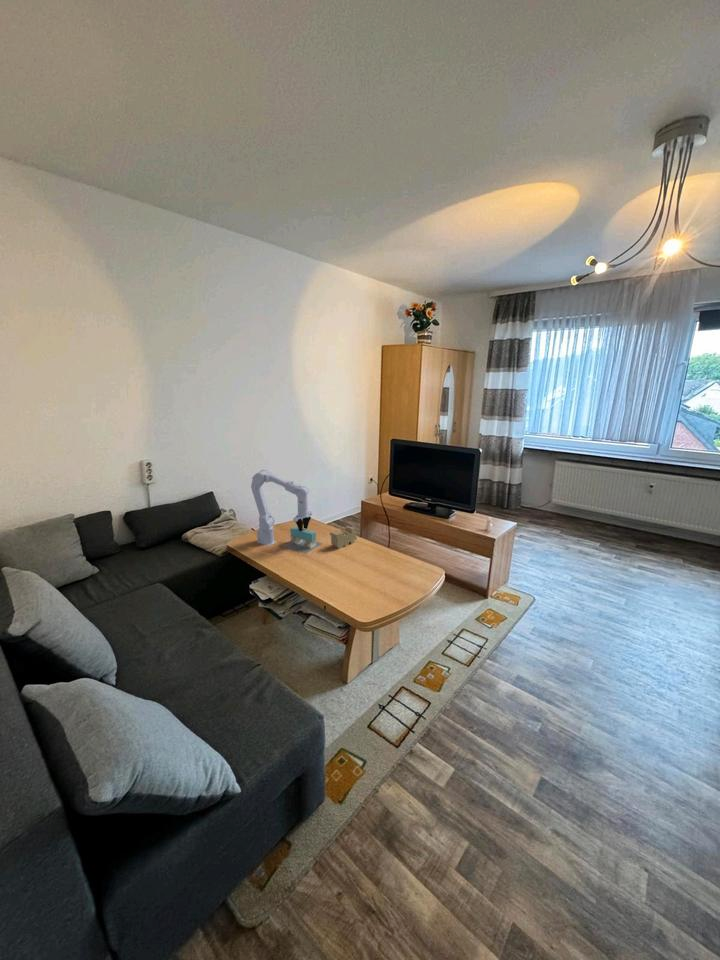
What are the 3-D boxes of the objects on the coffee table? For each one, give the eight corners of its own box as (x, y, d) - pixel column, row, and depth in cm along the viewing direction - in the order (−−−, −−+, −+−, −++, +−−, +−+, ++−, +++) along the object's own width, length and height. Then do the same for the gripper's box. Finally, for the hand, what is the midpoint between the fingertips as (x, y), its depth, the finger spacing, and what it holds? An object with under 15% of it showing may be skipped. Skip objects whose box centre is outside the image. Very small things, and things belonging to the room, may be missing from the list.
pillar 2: (304, 546, 223) (303, 540, 222) (309, 543, 227) (309, 537, 226) (310, 548, 221) (310, 542, 220) (316, 545, 225) (316, 539, 224)
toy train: (356, 542, 232) (357, 527, 229) (336, 551, 220) (336, 534, 217) (350, 540, 235) (350, 524, 233) (329, 548, 223) (329, 532, 221)
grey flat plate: (281, 547, 223) (281, 546, 223) (299, 537, 237) (299, 537, 237) (305, 554, 215) (305, 553, 214) (322, 544, 228) (322, 543, 228)
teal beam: (290, 536, 228) (290, 528, 227) (294, 534, 231) (294, 526, 230) (312, 542, 220) (311, 534, 219) (315, 540, 223) (315, 532, 222)
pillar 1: (290, 542, 228) (290, 536, 227) (296, 540, 232) (296, 533, 231) (297, 544, 226) (297, 538, 225) (302, 541, 230) (302, 535, 229)
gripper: (300, 512, 213) (300, 535, 216) (315, 505, 225) (316, 527, 228) (290, 510, 216) (290, 532, 220) (306, 503, 228) (306, 524, 232)
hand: (303, 529), depth 224 cm, fingers open, 4 cm apart
